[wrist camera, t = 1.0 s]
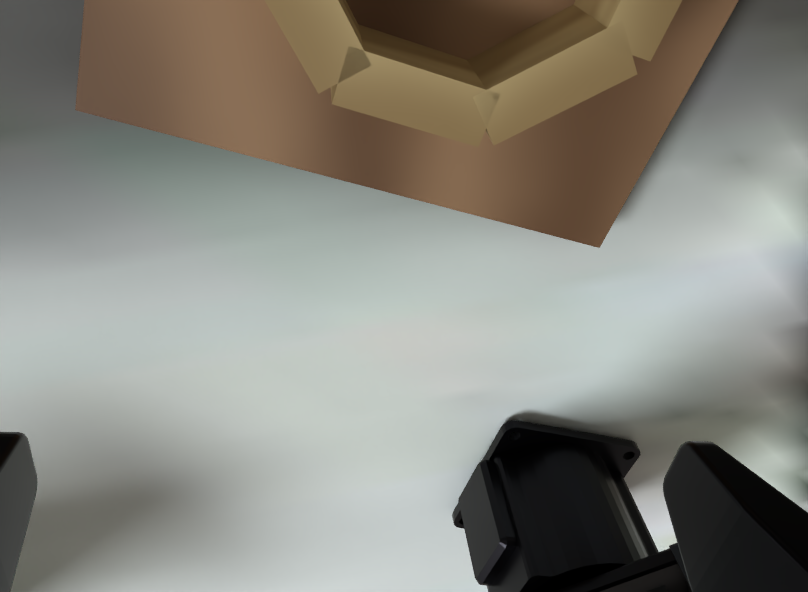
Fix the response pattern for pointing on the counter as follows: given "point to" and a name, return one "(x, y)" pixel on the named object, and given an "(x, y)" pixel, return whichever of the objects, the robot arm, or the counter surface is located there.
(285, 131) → the ring board
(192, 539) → the counter surface
